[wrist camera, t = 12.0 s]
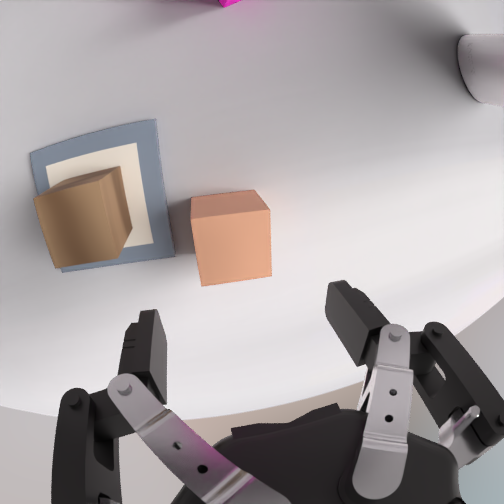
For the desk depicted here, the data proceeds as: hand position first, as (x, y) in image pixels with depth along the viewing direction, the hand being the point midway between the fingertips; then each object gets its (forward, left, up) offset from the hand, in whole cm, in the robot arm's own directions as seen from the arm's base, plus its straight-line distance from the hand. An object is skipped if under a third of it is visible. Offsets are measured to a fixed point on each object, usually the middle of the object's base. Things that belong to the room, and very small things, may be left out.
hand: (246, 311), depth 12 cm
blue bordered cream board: (+10, -3, -11) cm, 15 cm away
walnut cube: (+10, -3, -11) cm, 15 cm away
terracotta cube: (0, 0, -12) cm, 12 cm away
